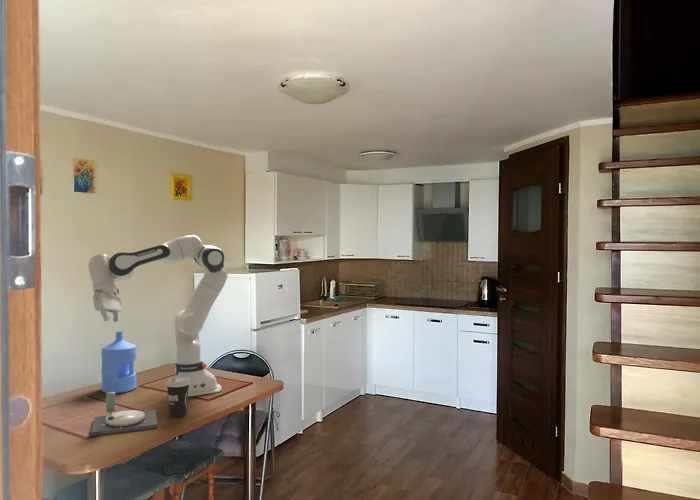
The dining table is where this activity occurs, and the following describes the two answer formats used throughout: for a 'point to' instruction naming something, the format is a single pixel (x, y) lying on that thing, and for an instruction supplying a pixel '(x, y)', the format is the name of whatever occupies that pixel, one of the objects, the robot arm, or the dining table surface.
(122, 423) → the dial
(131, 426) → the dial base plate
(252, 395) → the dining table surface
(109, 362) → the water jug
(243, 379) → the dining table surface
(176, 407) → the coffee cup
